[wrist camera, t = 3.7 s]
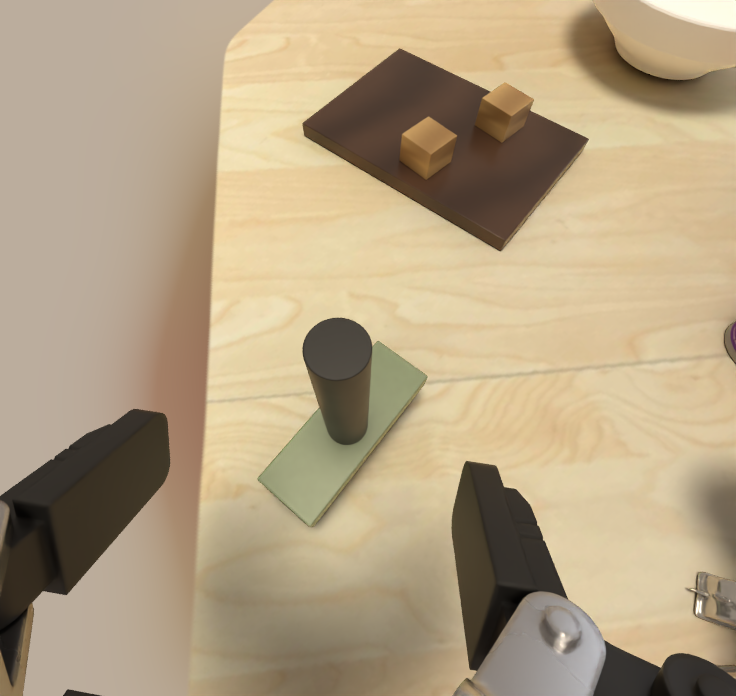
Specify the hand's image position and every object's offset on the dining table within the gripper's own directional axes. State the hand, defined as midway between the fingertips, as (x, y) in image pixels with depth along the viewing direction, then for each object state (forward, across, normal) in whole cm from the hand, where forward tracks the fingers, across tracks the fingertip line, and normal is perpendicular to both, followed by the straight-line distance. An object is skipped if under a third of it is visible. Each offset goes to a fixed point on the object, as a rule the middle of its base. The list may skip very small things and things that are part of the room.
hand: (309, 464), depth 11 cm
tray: (+31, -4, -12) cm, 33 cm away
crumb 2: (+31, -8, -14) cm, 35 cm away
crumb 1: (+27, -2, -10) cm, 29 cm away
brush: (+12, 0, +7) cm, 14 cm away
